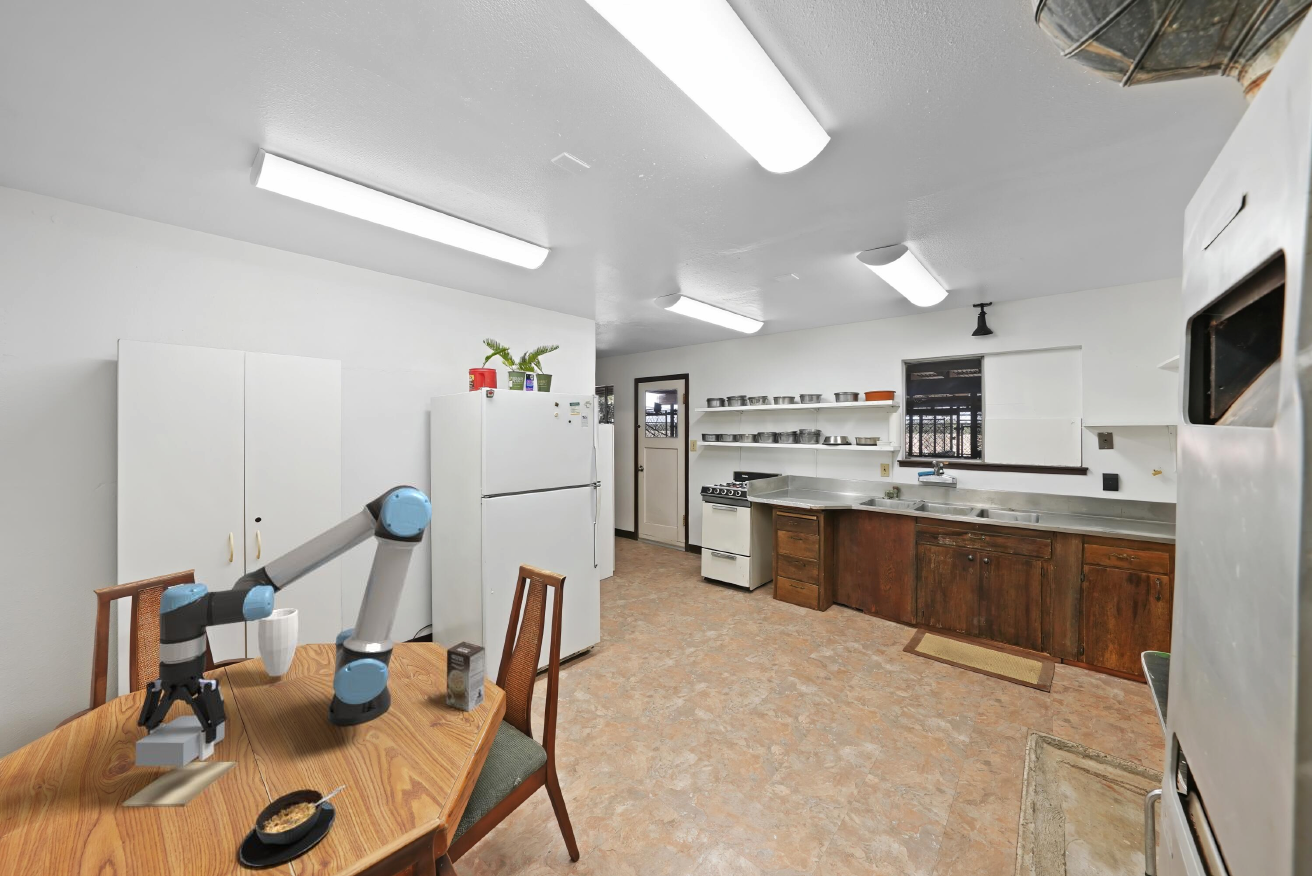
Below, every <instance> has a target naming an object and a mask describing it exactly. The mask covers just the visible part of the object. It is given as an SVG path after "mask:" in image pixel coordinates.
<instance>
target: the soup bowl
mask: <svg viewBox="0 0 1312 876" xmlns="http://www.w3.org/2000/svg"><path fill="white" fill-rule="evenodd" d="M345 787H346V785H345V784H344V785H342V786H340V787H338V788H335V790H333V791H331V792H330V793H328V794H327V795H326V796H324V795H323V794H322V793H321V792H319V791H318V790H316V789H309V788H308V789H307V788H304V789H299V790H295V791H292V792H288V793H287V794H284V795H282V796H280V797H278V798H277V799H275V800H274V801H271V802H270V803H269V804H268V805H267V806H265V808H264V809H262V811H260V813H259V814H258V816H257V818H256V820H255V823H254V827H253V828H252V829H251V830H250V831H249V832H248V834H246V836H245V837H244V838H243V840H242V842H241V844H240V846H239V851H238V854H239V855H238V857H239V860H240V861H241V863H242V864H244V865H245V866H254V867H257V866H258V867H261V866H266V865H267V866H268V865H274V864H277V863H281V862H285V861H286V860H290V859H291V858H294V857H296V856H298V855H300V854H301V853H303V852H305V851H307V850H309V849H310V848H312V847H313V846H314V845H316V844H317V843H319V842H320V841H321V840H322V839H323V838H324V836H325V835H326V834H327V833H328V832H329V831H330V829H331V828H332V827H333V825H334V823H335V820H336V815H337V812H336V808H335V807H334V804H333V803H331V802H330V801H327V800H328V799H329V798H331V797H333V796H335V795H337V794H338V793H339V792H340V791H341V790H342V789H344V788H345Z"/></svg>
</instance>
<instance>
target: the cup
mask: <svg viewBox="0 0 1312 876" xmlns="http://www.w3.org/2000/svg"><path fill="white" fill-rule="evenodd" d="M257 630H258V631H257V636H258V638H257V639H258V640H257V641H258V650H259V654H260V655H259V656H260V658H261V661H262V664H263V667H264V668H265V670H266V672H267V674H268V675H269V676H270V677H277V676H281V675H285V674H286V673H288V671H289V670H290V667H291V665H292V662H293V660H294V656H295V651H296V647H297V644H298V641H299V640H298V639H299V638H298V637H299V611H298V609H296V608H292V607H288V608H278V609H273V612H272V614H271V615H270V616H269V617H267V618H263V619H258V628H257Z"/></svg>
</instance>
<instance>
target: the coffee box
mask: <svg viewBox="0 0 1312 876" xmlns="http://www.w3.org/2000/svg"><path fill="white" fill-rule="evenodd" d="M485 652H486V648H485V647H484V646H481V645H477V644H474V643H470V642H468V641H462V642H459V643H458V644H456V645H453V646H452V647H450V648H448V649H447V650H446V705H448V706H451V707H454V708H457V709H460V710H461V711H462V710H463V711H466V712H471V711H473V710H474V709H476V708H477V707H478V706H480V705H481V704H483V703H485V673H486V672H485V670H486V669H485V663H486V662H485V661H486V658H485V656H486V653H485Z"/></svg>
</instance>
